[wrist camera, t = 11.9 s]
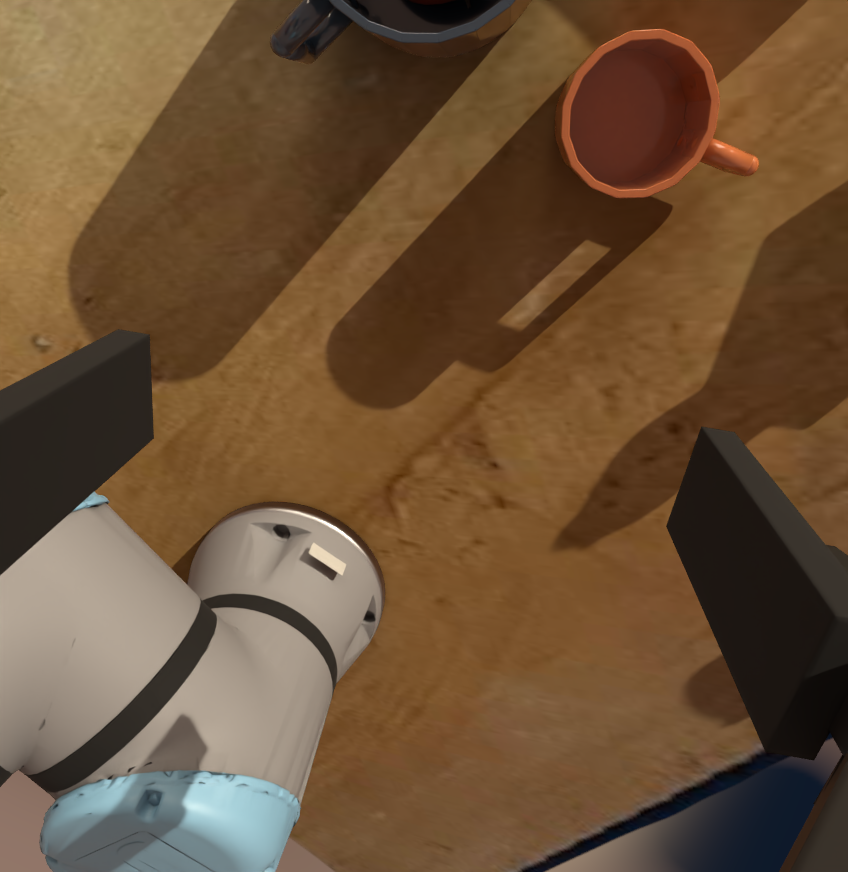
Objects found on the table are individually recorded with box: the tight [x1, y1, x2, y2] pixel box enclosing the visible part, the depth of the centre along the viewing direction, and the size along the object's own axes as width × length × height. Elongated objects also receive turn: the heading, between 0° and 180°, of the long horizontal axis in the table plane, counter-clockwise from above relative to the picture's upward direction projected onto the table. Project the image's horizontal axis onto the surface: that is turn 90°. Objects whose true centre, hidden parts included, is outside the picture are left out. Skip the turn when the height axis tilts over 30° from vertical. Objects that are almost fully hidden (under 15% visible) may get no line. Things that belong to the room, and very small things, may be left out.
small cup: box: [555, 29, 759, 198], centre depth 34 cm, size 10×7×6 cm
